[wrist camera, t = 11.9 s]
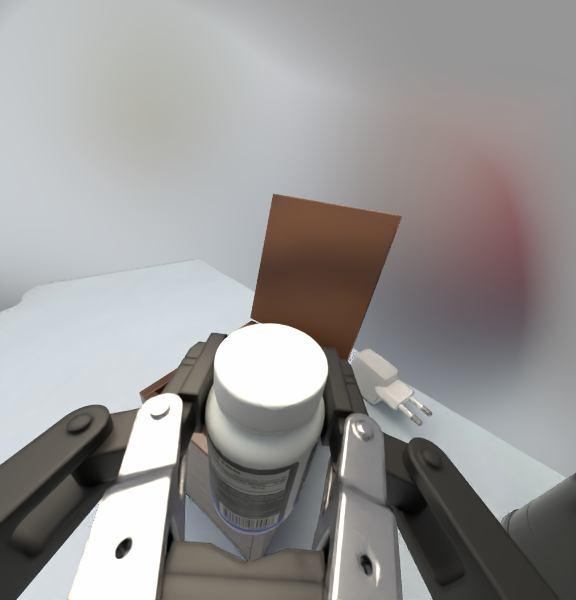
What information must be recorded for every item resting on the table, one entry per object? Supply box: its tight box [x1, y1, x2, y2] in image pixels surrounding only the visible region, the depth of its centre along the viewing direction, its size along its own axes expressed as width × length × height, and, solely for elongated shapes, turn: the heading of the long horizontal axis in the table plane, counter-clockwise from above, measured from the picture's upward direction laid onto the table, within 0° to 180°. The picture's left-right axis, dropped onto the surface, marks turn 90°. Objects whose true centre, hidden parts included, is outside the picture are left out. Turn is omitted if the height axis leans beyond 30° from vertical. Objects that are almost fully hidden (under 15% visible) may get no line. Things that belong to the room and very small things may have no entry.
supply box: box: [140, 321, 278, 561], centre depth 22 cm, size 14×13×11 cm
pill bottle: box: [205, 323, 328, 535], centre depth 9 cm, size 5×5×8 cm
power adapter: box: [351, 349, 432, 426], centre depth 30 cm, size 11×5×6 cm, turn 33°
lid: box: [250, 194, 402, 362], centre depth 22 cm, size 14×13×1 cm
